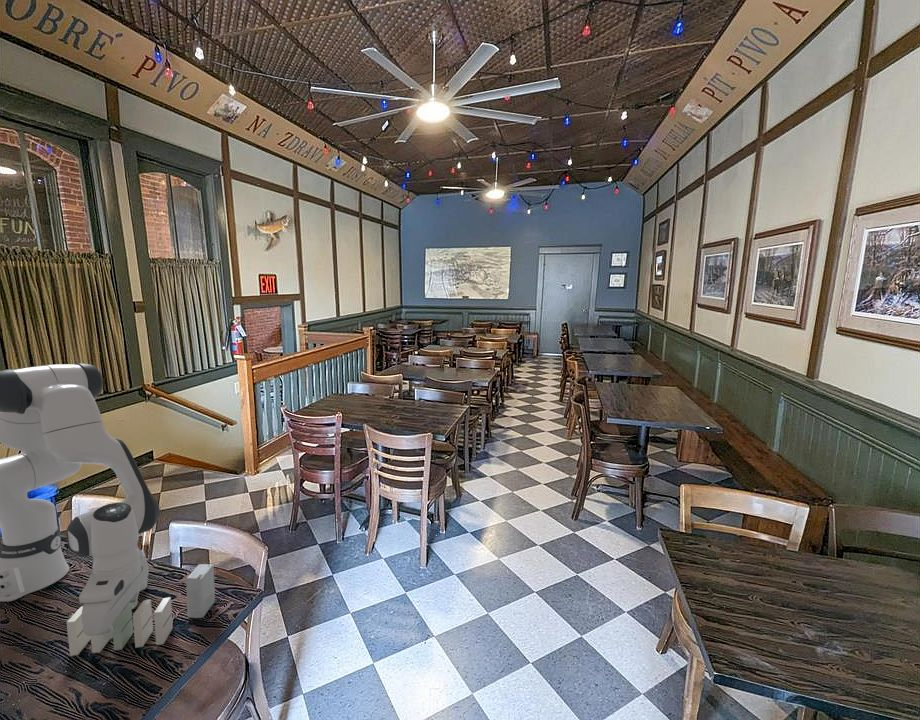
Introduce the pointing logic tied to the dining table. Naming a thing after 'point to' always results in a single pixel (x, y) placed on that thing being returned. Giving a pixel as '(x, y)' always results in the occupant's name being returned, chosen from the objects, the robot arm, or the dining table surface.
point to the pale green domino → (123, 627)
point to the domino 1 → (76, 633)
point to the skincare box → (200, 590)
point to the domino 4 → (163, 621)
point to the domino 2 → (98, 643)
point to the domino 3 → (142, 623)
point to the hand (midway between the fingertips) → (121, 621)
